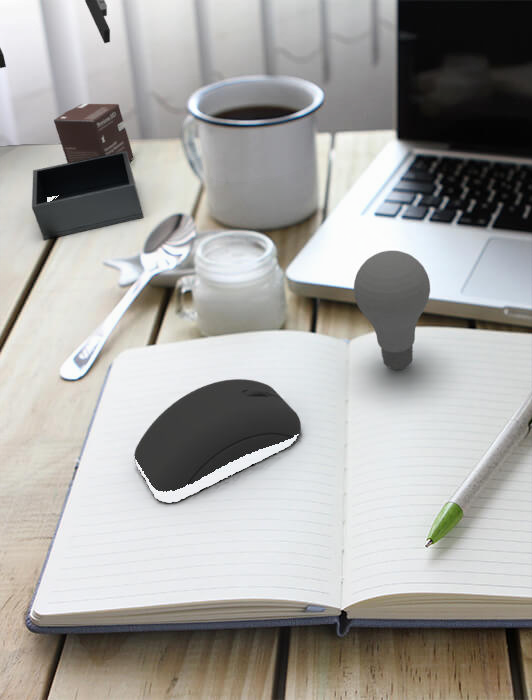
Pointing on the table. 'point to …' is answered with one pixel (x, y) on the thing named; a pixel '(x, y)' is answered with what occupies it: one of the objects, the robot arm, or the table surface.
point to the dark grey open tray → (85, 195)
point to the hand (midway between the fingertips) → (55, 49)
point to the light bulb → (393, 302)
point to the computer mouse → (213, 431)
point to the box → (92, 132)
